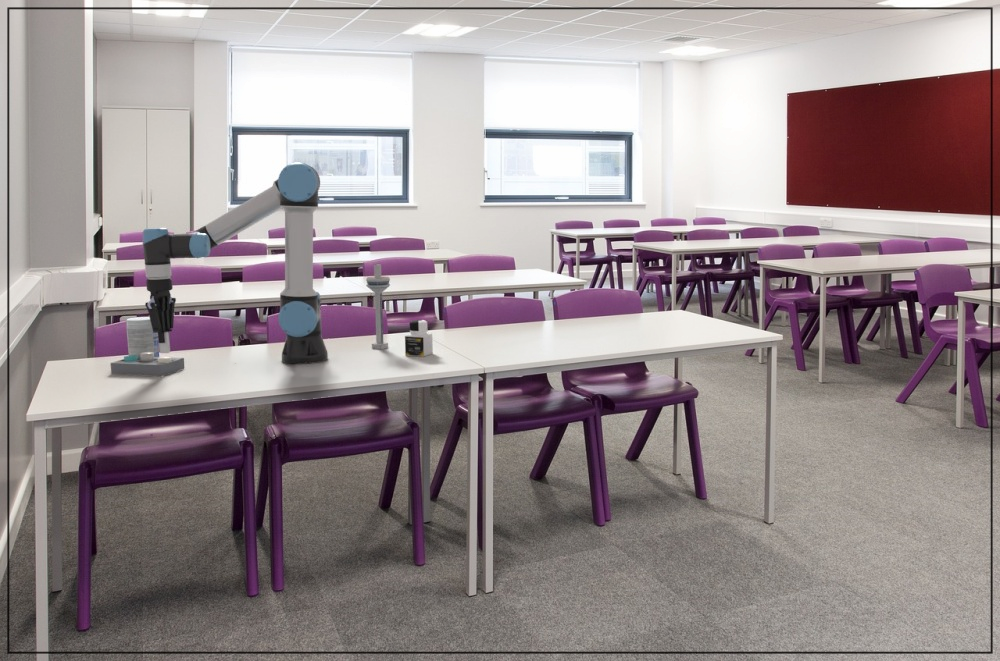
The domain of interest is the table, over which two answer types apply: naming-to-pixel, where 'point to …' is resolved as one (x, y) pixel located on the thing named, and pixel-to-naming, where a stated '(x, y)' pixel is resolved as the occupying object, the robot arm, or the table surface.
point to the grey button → (147, 357)
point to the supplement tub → (141, 336)
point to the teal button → (131, 358)
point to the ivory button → (164, 359)
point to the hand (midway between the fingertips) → (165, 352)
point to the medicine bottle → (418, 340)
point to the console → (147, 367)
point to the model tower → (378, 303)
